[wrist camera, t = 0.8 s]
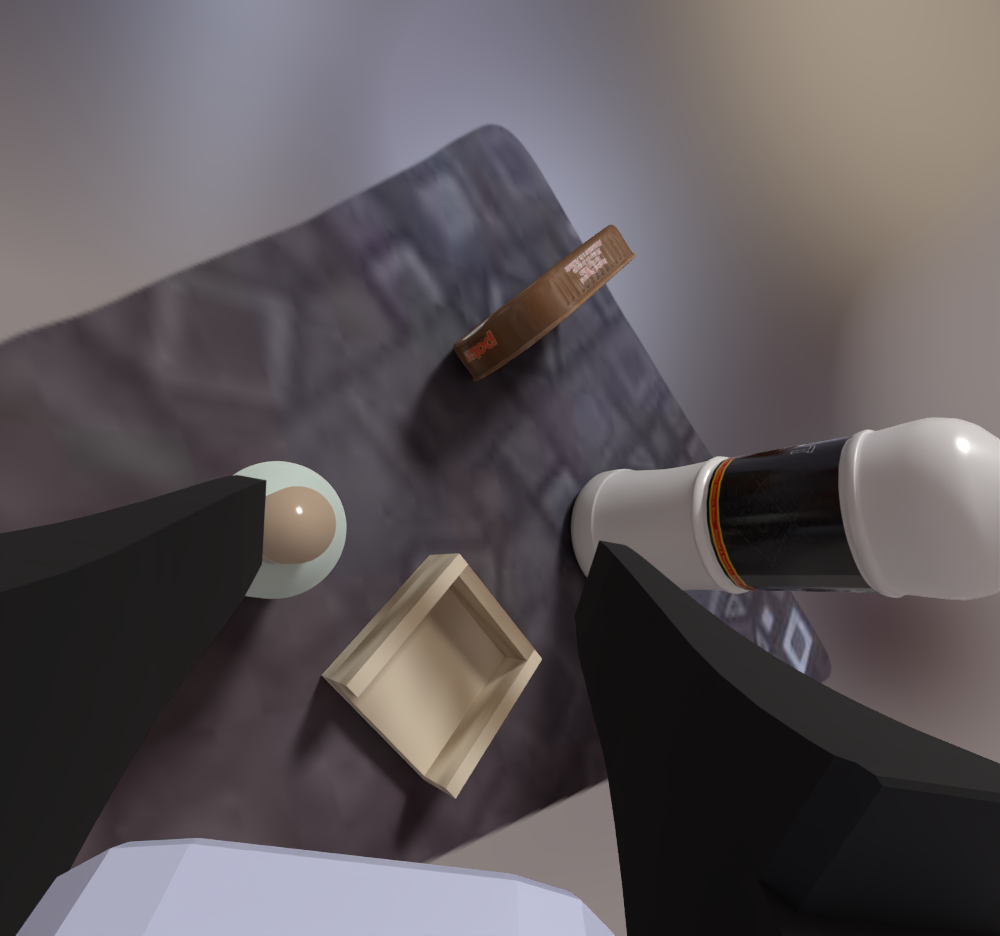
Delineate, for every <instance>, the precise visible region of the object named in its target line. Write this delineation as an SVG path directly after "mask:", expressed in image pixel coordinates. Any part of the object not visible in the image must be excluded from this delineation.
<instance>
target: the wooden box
mask: <svg viewBox="0 0 1000 936" xmlns="http://www.w3.org/2000/svg"><path fill="white" fill-rule="evenodd" d="M541 660H542V658H541V657H540V656H539V654H538V653H537V652H536V651H535V649H534V648H533V647H532V645H531V644H530V643H529V642H528V640H527V639H526V638H525V637H524V635H523V634H522V633H521V631H520V630H519V629H518V628H517V626H516V625H515V624H514V623H513V621H512V620H511V619H510V617H509V616H508V615H507V614H506V612H505V611H504V610H503V609H502V607H501V606H500V605H499V603H498V602H497V601H496V600H495V598H494V597H493V596H492V595H491V593H490V592H489V591H488V589H487V588H486V587H485V586H484V584H483V583H482V582H481V581H480V579H479V578H478V577H477V575H476V574H475V573H474V572H473V570H472V569H471V568H470V566H469V565H468V564H467V563H466V561H465V560H464V559H463V558H462V556H461V555H460V554H442V555H429V556H428V558H427V559H426V560H425V561H424V562H423V563H422V564H421V565H420V566H419V568H418V569H417V570H416V571H415V572H414V573H413V574H412V575H411V576H410V578H409V579H408V580H407V581H406V582H405V583H404V584H403V585H402V586H401V588H400V589H399V590H398V591H397V592H396V593H395V594H394V595H393V596H392V598H391V599H390V600H389V601H388V602H387V603H386V604H385V605H384V606H383V608H382V609H381V610H380V611H379V612H378V613H377V614H376V615H375V616H374V618H373V619H372V620H371V621H370V622H369V623H368V624H367V625H366V626H365V627H364V629H363V630H362V631H361V632H360V633H359V634H358V635H357V636H356V637H355V639H354V640H353V641H352V642H351V643H350V644H349V645H348V646H347V647H346V649H345V650H344V651H343V652H342V653H341V654H340V655H339V656H338V657H337V659H336V660H335V661H334V662H333V663H332V664H331V665H330V666H329V667H328V669H327V670H326V671H325V672H324V673H323V674H322V675H321V676H322V677H323V678H324V679H325V680H326V681H327V682H328V683H329V684H330V685H331V686H332V687H333V688H334V689H335V690H336V691H337V692H338V693H339V694H340V695H341V696H342V697H343V698H344V699H345V700H346V701H347V702H348V703H349V704H350V705H351V706H352V707H353V708H354V709H355V710H356V711H357V712H358V713H359V714H360V715H361V716H362V717H363V718H364V719H365V720H366V721H367V722H368V723H369V724H370V726H371V727H372V728H373V729H374V730H375V731H376V732H377V733H378V734H379V735H380V736H381V737H382V738H383V739H384V740H385V741H386V742H387V743H388V744H389V745H390V746H391V747H392V748H393V749H394V750H395V751H396V752H397V753H398V754H399V755H400V756H401V757H402V758H403V759H404V760H405V761H406V762H407V763H408V764H409V765H410V766H411V767H412V768H413V769H414V770H415V771H416V772H417V773H418V774H419V775H420V777H421V778H422V779H423V780H425V781H427V782H428V783H430V784H432V785H433V786H435V787H437V788H438V789H440V790H442V791H444V792H445V793H447V794H449V795H450V796H452V797H454V798H455V799H456V797H457V796H458V794H459V792H460V791H461V789H462V787H463V786H464V784H465V783H466V781H467V779H468V778H469V776H470V775H471V773H472V771H473V770H474V768H475V766H476V765H477V763H478V762H479V760H480V758H481V757H482V755H483V754H484V752H485V750H486V749H487V747H488V746H489V744H490V742H491V741H492V739H493V737H494V736H495V734H496V733H497V731H498V729H499V728H500V726H501V725H502V723H503V721H504V720H505V718H506V717H507V715H508V713H509V712H510V710H511V708H512V707H513V705H514V704H515V702H516V700H517V699H518V697H519V696H520V694H521V692H522V691H523V689H524V687H525V686H526V684H527V683H528V681H529V679H530V678H531V676H532V675H533V673H534V671H535V670H536V668H537V667H538V665H539V663H540V662H541Z"/></svg>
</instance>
